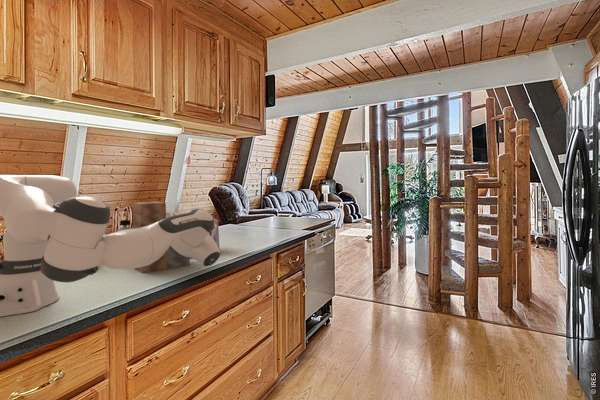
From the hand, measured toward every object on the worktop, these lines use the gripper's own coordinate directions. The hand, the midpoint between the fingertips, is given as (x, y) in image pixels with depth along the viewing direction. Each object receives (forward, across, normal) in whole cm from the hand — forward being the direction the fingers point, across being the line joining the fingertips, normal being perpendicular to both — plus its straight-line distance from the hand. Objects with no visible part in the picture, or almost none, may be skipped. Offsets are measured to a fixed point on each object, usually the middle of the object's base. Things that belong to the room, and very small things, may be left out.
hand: (182, 213), depth 141 cm
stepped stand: (-3, -5, -25) cm, 26 cm away
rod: (+4, 0, -6) cm, 8 cm away
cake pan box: (+10, +23, -34) cm, 42 cm away
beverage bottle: (+8, -16, -32) cm, 37 cm away
